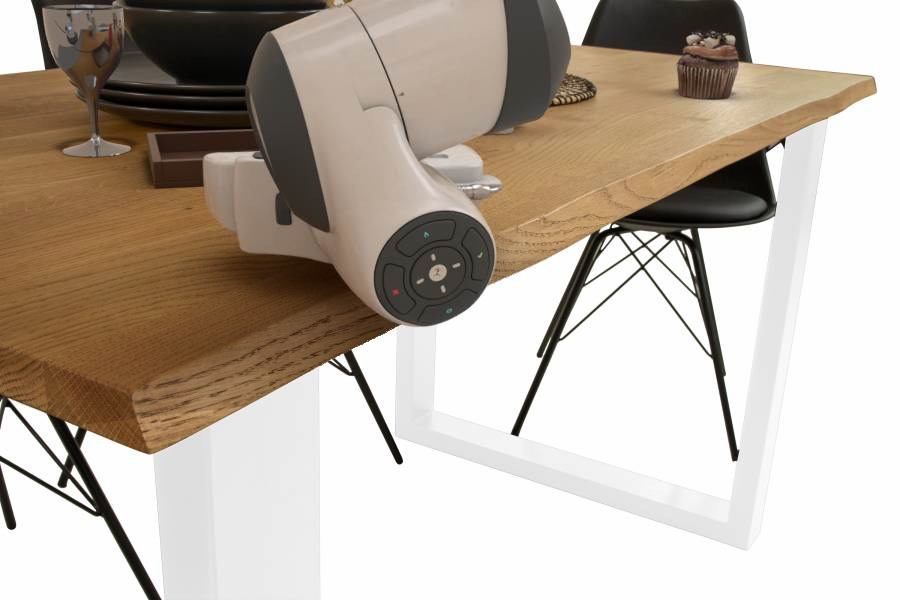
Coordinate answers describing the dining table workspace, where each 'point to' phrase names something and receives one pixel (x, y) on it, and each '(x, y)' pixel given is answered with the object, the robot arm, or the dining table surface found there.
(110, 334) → the dining table surface
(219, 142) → the tray
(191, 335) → the dining table surface
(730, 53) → the cupcake
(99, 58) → the wine glass
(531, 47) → the robot arm
